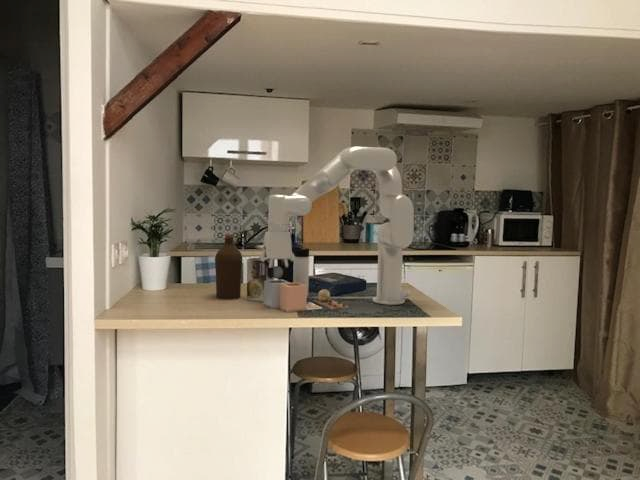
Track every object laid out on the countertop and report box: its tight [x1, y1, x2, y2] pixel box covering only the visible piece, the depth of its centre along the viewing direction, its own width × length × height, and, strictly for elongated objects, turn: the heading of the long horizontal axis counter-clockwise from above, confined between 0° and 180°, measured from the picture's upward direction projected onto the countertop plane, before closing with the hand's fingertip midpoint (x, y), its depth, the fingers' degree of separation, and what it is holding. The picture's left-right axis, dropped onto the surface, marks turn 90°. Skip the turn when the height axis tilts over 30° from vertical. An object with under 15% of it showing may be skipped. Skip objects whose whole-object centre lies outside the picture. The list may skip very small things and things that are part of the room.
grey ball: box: [273, 265, 283, 280], centre depth 186 cm, size 5×5×5 cm
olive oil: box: [214, 233, 243, 300], centre depth 199 cm, size 11×11×25 cm
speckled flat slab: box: [312, 297, 350, 311], centre depth 191 cm, size 7×16×1 cm, turn 27°
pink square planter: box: [278, 282, 308, 313], centre depth 181 cm, size 7×7×9 cm
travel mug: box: [292, 248, 310, 299], centre depth 203 cm, size 6×7×20 cm
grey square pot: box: [263, 279, 291, 309], centre depth 187 cm, size 7×7×9 cm
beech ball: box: [317, 288, 331, 301], centre depth 194 cm, size 5×5×5 cm
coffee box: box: [246, 257, 276, 303], centre depth 196 cm, size 9×6×16 cm
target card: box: [306, 300, 323, 311], centre depth 187 cm, size 6×10×2 cm, turn 27°
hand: (276, 277), depth 186 cm, fingers closed on grey ball, 4 cm apart
